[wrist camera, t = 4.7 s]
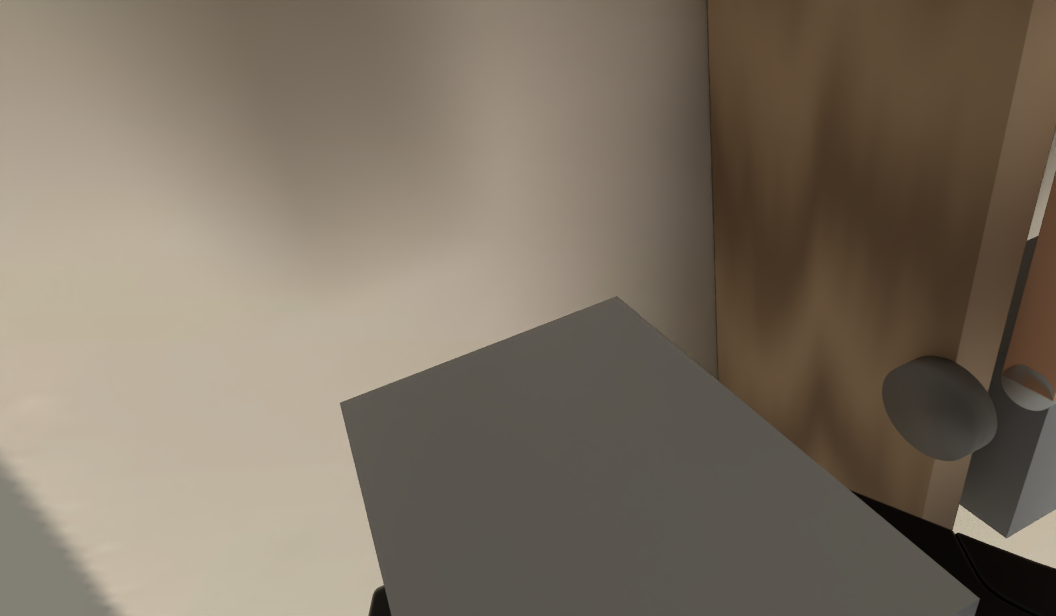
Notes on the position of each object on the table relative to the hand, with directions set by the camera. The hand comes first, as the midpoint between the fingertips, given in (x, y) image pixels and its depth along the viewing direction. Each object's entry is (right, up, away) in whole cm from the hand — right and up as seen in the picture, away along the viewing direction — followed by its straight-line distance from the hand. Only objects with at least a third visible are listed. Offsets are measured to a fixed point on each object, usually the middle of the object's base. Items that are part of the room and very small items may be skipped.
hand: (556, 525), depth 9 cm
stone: (-1, +1, +1) cm, 2 cm away
